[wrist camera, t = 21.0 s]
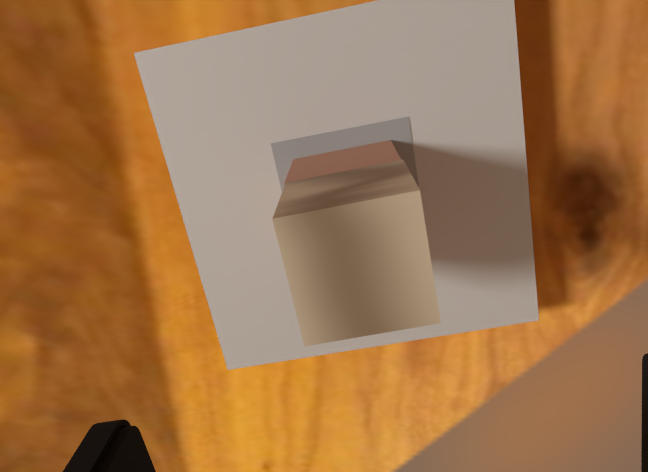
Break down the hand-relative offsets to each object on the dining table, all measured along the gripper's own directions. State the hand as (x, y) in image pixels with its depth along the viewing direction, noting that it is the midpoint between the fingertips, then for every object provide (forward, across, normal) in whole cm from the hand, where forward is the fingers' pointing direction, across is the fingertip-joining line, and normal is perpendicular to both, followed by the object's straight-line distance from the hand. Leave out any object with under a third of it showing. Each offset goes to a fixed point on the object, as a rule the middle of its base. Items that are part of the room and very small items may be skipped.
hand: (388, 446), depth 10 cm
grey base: (+22, +1, +1) cm, 22 cm away
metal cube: (+14, +1, +1) cm, 14 cm away
